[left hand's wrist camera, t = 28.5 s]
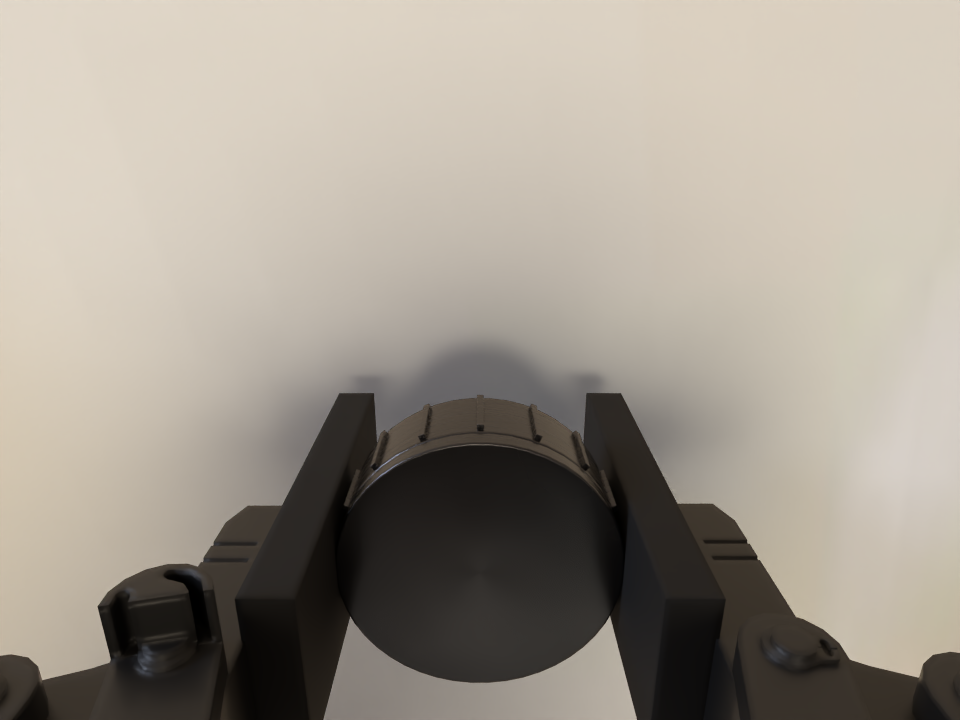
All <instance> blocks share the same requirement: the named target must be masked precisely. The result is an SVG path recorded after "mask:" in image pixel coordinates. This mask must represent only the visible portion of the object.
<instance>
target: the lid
mask: <svg viewBox="0 0 960 720" xmlns="http://www.w3.org/2000/svg"><path fill="white" fill-rule="evenodd" d="M342 510H344V511H346V513H345V516H344V520H343V522H342V525H341V528H340V531H339V535H338V540H337V544H336V551H335V559H336V571H337V582H338V588H339V592H340V595H341V598H342V600H343V603H344V605H345V607H346V610H347V611H348V613H349V615H350V616H351V618H352V620H353V621H354V623H355V624H356V625H357V627H358V628H359V629H360V630H361V632H362V633H363V634H364V635H365V636H366V637H367V638H368V639H369V640H370V641H371V642H372V643H373V644H374V645H375V646H376V647H377V648H379V649H380V650H381V651H383V652H384V653H385V654H387V655H388V656H389V657H391V658H393V659H394V660H396V661H398V662H400V663H401V664H403V665H405V666H407V667H410V668H412V669H414V670H416V671H419V672H421V673H424V674H428V675H431V676H434V677H437V678H442V679H447V680H452V681H460V682H470V683H490V682H500V681H508V680H513V679H518V678H523V677H526V676H529V675H532V674H536V673H539V672H541V671H544V670H546V669H548V668H550V667H553V666H555V665H557V664H559V663H560V662H562V661H564V660H566V659H567V658H569V657H571V656H572V655H573V654H575V653H576V652H577V651H579V650H580V649H581V648H583V647H584V646H585V645H586V644H587V643H588V642H589V641H590V640H591V639H592V638H593V637H594V636H595V635H596V634H597V633H598V632H599V630H600V629H601V628H602V627H603V625H604V624H605V623H606V621H607V620H608V618H609V616H610V615H611V613H612V611H613V610H614V607H615V605H616V603H617V600H618V598H619V595H620V592H621V588H622V584H623V575H624V564H625V550H624V544H623V539H622V535H621V531H620V528H619V525H618V522H617V520H616V516H615V513H614V512H615V511H618V507H617V504H616V501H615V498H614V496H613V493H612V490H611V487H610V484H609V482H608V479H607V476H606V473H605V471H604V470H601V471H599V468H598V466H597V464H596V462H595V460H594V459H593V457H592V455H591V453H590V452H589V450H588V449H587V448H586V447H585V445H584V444H583V443H582V440H581V436H580V434H579V433H578V432H577V431H575V432H574V433H572V432H571V431H570V430H569V429H568V428H567V427H565V426H564V425H563V424H561V423H560V422H558V421H557V420H556V419H554V418H552V417H550V416H549V415H547V414H545V413H543V412H541V411H539V410H537V406H536V405H533V404H531V405H530V407H529V406H526V405H523V404H519V403H515V402H511V401H507V400H499V399H491V398H483V395H477V398H469V399H461V400H453V401H449V402H445V403H441V404H437V405H434V406H432V407H431V406H430V404H427V405H424V408H423V410H421V411H419V412H417V413H415V414H413V415H412V416H410V417H408V418H406V419H404V420H403V421H402V422H400V423H399V424H397V425H396V426H395V427H393V428H392V429H391V430H390V431H389V432H388V433H387V432H386V431H385V430H384V431H383V432H382V433H381V434H380V437H379V440H378V443H377V444H376V445H375V447H374V448H373V449H372V450H371V452H370V453H369V455H368V457H367V459H366V460H365V462H364V464H363V466H362V468H361V471H360V470H357V469H356V471H355V473H354V476H353V479H352V482H351V484H350V487H349V490H348V493H347V496H346V499H345V501H344V504H343V507H342Z"/></svg>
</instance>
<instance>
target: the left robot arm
mask: <svg viewBox="0 0 960 720" xmlns="http://www.w3.org/2000/svg"><path fill="white" fill-rule="evenodd" d="M376 444H377V436H376V420H375V404H374V393H339V395H338V397H337V399H336V401H335V403H334V405H333V407H332V409H331V411H330V413H329V415H328V417H327V419H326V421H325V423H324V425H323V427H322V429H321V431H320V433H319V435H318V437H317V439H316V440H315V442H314V444H313V446H312V448H311V450H310V452H309V454H308V456H307V458H306V460H305V462H304V464H303V466H302V468H301V470H300V472H299V474H298V476H297V478H296V480H295V482H294V484H293V486H292V487H291V489H290V491H289V493H288V495H287V497H286V499H285V501H284V503H283V505H282V506H247V507H246V508H244V509H243V510H242V511H241V512H239V513H238V514H237V515H235V516H234V517H233V518H231V519H230V520H229V521H227V522H226V523H225V525H224V526H223V528H222V530H221V531H220V533H219V534H218V536H217V538H216V539H215V541H214V545H213V546H211V547H210V549H209V550H208V552H207V554H206V555H205V557H204V560H203V562H201V563H200V565H199V566H198V567H197V566H193V565H190V564H167V565H163V566H159V567H155V568H151V569H146V570H144V571H142V572H140V573H138V574H135V575H133V576H131V577H129V578H127V579H125V580H123V581H122V582H121V583H119V584H118V585H117V586H116V587H114V588H113V589H112V590H110V591H109V592H108V593H107V594H106V596H105V597H104V598H103V600H102V601H101V603H100V604H99V605H98V610H99V614H100V618H101V622H102V626H103V630H104V634H105V638H106V642H107V646H108V650H109V653H110V657H111V661H110V663H108V664H105V665H101V666H98V667H95V668H92V669H88V670H84V671H80V672H76V673H71V674H67V675H63V676H59V677H55V678H50V679H46V680H42V678H41V675H40V672H39V668H38V666H37V665H36V664H35V663H34V662H32V661H31V660H30V659H29V658H27V657H22V656H16V655H4V656H0V720H323V718H324V715H325V711H326V707H327V703H328V699H329V695H330V692H331V688H332V684H333V680H334V676H335V672H336V669H337V665H338V661H339V657H340V653H341V649H342V645H343V642H344V638H345V634H346V630H347V626H348V622H349V619H350V615H349V613H348V611H347V610H346V607H345V605H344V603H343V600H342V598H341V595H340V592H339V588H338V582H337V571H336V559H335V551H336V544H337V540H338V535H339V531H340V528H341V525H342V522H343V520H344V516H345V513H346V511H344V510H342V507H343V504H344V501H345V499H346V496H347V493H348V490H349V487H350V484H351V482H352V479H353V476H354V473H355V471H356V469H357V470H360V471H361V468H362V466H363V464H364V462H365V460H366V459H367V457H368V455H369V453H370V452H371V450H372V449H373V448H374V447H375V445H376ZM583 444H584V445H585V447H586V448H587V449H588V450H589V452H590V453H591V455H592V457H593V459H594V460H595V462H596V464H597V466H598V468H599V471H601V470H604V471H605V473H606V476H607V479H608V482H609V484H610V487H611V490H612V493H613V496H614V498H615V501H616V504H617V507H618V511H615V512H614V513H615V516H616V520H617V522H618V525H619V528H620V531H621V535H622V539H623V544H624V550H625V564H624V575H623V584H622V588H621V592H620V595H619V598H618V600H617V603H616V605H615V607H614V610H613V611H612V613H611V615H610V617H611V621H612V625H613V629H614V632H615V636H616V640H617V644H618V648H619V652H620V655H621V659H622V663H623V667H624V671H625V675H626V678H627V682H628V686H629V690H630V694H631V698H632V701H633V705H634V709H635V713H636V717H637V720H960V653H955V652H947V653H942V654H936V655H933V656H931V657H930V658H929V659H928V660H927V661H926V662H925V663H924V664H923V667H922V670H921V673H920V677H919V678H917V677H913V676H909V675H904V674H900V673H896V672H892V671H888V670H884V669H879V668H875V667H871V666H868V665H864V664H861V663H858V662H855V661H852V660H850V659H849V658H848V656H847V655H846V653H845V652H844V650H843V648H842V647H841V645H840V644H839V643H838V642H837V641H836V640H835V639H834V638H832V637H831V636H830V635H829V634H828V633H827V632H825V631H824V630H823V629H821V628H819V627H817V626H815V625H813V624H811V623H810V622H808V621H806V620H804V619H800V618H797V617H796V616H795V615H794V613H793V612H792V610H791V609H790V607H789V605H788V604H787V602H786V601H785V599H784V598H783V596H782V594H781V593H780V591H779V590H778V588H777V586H776V585H775V583H774V582H773V580H772V579H771V577H770V575H769V574H768V572H767V571H766V569H765V567H764V566H763V564H762V563H761V561H760V560H758V559H757V555H756V553H755V552H754V550H753V549H752V547H751V545H750V544H747V539H746V537H745V536H744V534H743V533H742V531H741V530H740V528H739V526H738V525H737V523H736V522H735V520H733V519H732V518H731V517H729V516H728V515H727V514H725V513H724V512H723V511H722V510H720V509H719V508H718V507H716V506H715V505H714V504H677V502H676V500H675V498H674V496H673V494H672V493H671V491H670V489H669V487H668V485H667V483H666V481H665V479H664V477H663V475H662V473H661V471H660V469H659V467H658V465H657V463H656V461H655V459H654V457H653V455H652V453H651V451H650V449H649V447H648V446H647V444H646V442H645V440H644V438H643V436H642V434H641V432H640V430H639V428H638V426H637V424H636V422H635V420H634V418H633V416H632V414H631V412H630V410H629V408H628V406H627V404H626V402H625V401H624V399H623V397H622V395H621V393H587V394H586V410H585V426H584V443H583Z"/></svg>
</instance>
